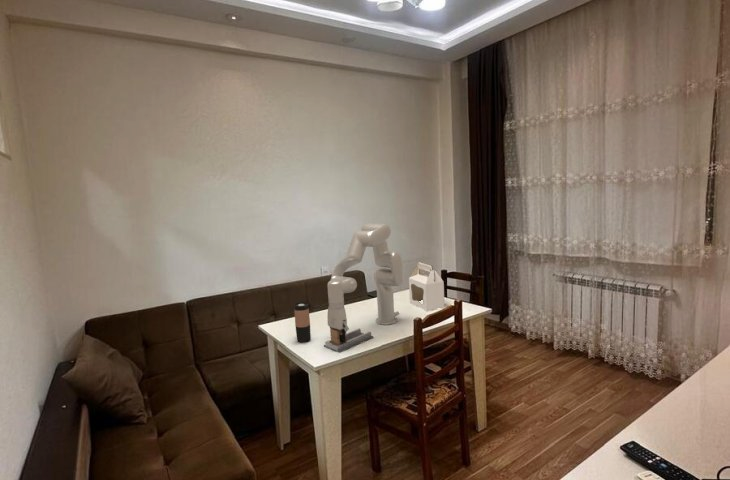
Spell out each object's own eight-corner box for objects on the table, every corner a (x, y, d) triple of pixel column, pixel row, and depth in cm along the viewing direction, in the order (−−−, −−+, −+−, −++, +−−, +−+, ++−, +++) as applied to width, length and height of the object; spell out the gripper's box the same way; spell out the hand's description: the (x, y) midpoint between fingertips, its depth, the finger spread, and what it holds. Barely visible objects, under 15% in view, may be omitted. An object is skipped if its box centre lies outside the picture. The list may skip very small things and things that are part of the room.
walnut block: (340, 340, 199) (339, 325, 198) (346, 342, 195) (345, 327, 194) (331, 344, 195) (330, 329, 194) (337, 346, 191) (336, 331, 190)
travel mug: (297, 338, 209) (294, 302, 206) (311, 337, 209) (308, 301, 207) (296, 344, 201) (293, 306, 199) (310, 342, 202) (308, 305, 199)
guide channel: (357, 332, 213) (357, 327, 212) (373, 337, 204) (373, 332, 204) (323, 346, 196) (323, 341, 195) (339, 352, 187) (339, 347, 187)
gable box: (409, 302, 263) (407, 262, 259) (426, 299, 268) (425, 259, 264) (426, 311, 242) (425, 267, 239) (444, 308, 247) (443, 264, 244)
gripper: (319, 304, 196) (322, 338, 198) (342, 310, 184) (344, 346, 186) (331, 300, 201) (333, 334, 203) (353, 306, 189) (356, 341, 191)
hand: (338, 339), depth 195 cm, fingers closed on walnut block, 5 cm apart
